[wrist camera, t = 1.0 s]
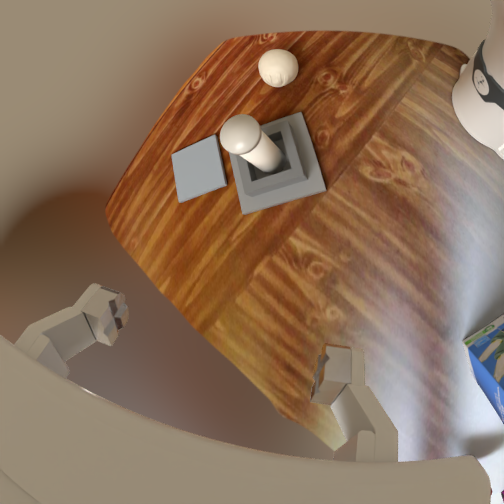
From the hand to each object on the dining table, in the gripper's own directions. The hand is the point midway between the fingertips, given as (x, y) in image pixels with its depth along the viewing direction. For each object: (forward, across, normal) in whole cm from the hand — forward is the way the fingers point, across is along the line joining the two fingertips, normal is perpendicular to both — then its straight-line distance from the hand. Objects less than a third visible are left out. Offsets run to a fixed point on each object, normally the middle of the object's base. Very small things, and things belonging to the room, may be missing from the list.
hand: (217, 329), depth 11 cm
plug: (+39, +3, +6) cm, 39 cm away
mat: (+41, +17, +11) cm, 46 cm away
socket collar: (+40, +3, +7) cm, 40 cm away
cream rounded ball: (+49, +4, -8) cm, 50 cm away
